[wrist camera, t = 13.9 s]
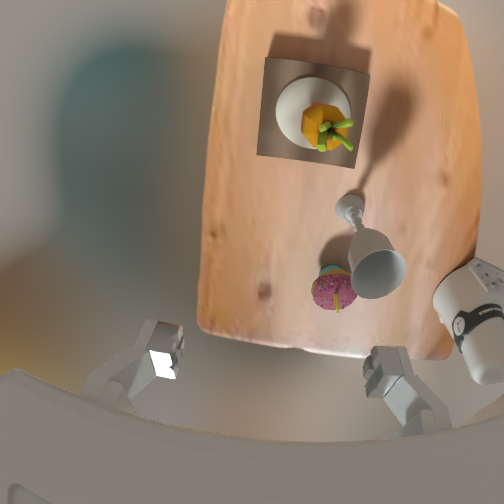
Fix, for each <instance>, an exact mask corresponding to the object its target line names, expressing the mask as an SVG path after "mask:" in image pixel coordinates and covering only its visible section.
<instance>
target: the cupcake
mask: <svg viewBox="0 0 504 504" xmlns="http://www.w3.org/2000/svg"><path fill="white" fill-rule="evenodd" d="M311 292H312V296H313V300H314V301H315V303H316V304H317V305H319V306H320V307H322V308H323V309H325V310H326V309H327V310H336V312H337V313H338V311H339V310H340V309H344V307H347V306H349V305H350V304H351V303H352V302H353V301H354V300H355V299H356V297H357V294H356V293H355V292H354V291H353V289H352V286H351V274H350V273H348V272H347V271H345V270H342V269H341V268H340V267H339V266H335V265H330V266H327V267H325V268H323V269H322V270H321V272H320V274H319V277H318V278H317V279H316V280H315V281H314V282H313V285H312V289H311Z"/></svg>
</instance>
